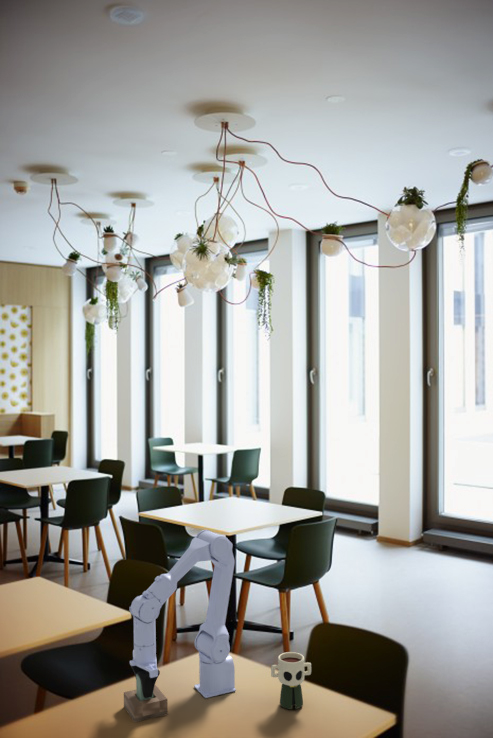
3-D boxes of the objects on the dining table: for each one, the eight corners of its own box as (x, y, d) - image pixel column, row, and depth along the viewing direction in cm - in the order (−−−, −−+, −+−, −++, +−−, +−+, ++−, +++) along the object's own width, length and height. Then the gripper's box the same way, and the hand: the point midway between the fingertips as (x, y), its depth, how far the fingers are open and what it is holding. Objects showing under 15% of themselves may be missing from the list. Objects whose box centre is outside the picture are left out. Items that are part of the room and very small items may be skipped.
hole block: (155, 699, 198) (155, 685, 198) (167, 714, 190) (167, 699, 190) (123, 707, 194) (123, 692, 194) (134, 722, 186) (134, 706, 186)
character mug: (273, 713, 190) (273, 664, 190) (268, 700, 197) (268, 653, 197) (314, 710, 191) (314, 661, 191) (308, 697, 199) (308, 650, 198)
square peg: (149, 700, 194) (148, 671, 194) (153, 706, 191) (153, 676, 191) (136, 703, 193) (136, 673, 192) (140, 709, 190) (140, 679, 189)
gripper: (121, 635, 196) (122, 685, 197) (139, 655, 183) (139, 709, 184) (146, 631, 199) (147, 680, 200) (165, 650, 186) (165, 702, 187)
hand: (145, 693), depth 192 cm, fingers closed on square peg, 3 cm apart
